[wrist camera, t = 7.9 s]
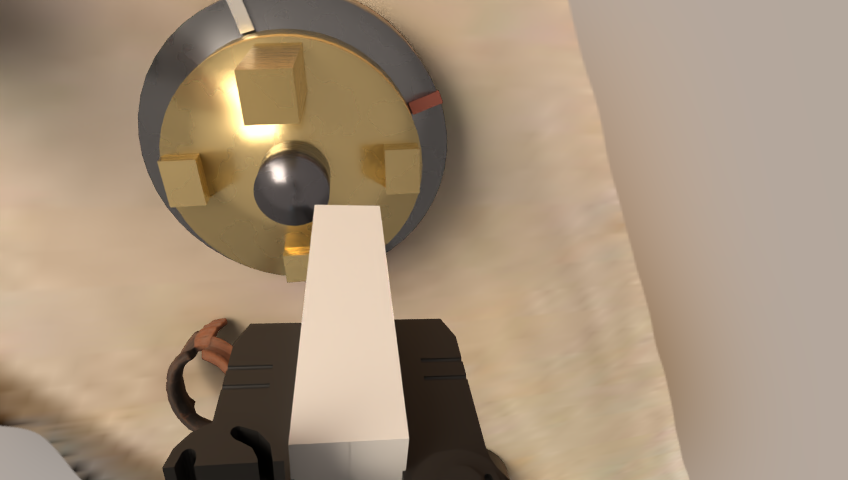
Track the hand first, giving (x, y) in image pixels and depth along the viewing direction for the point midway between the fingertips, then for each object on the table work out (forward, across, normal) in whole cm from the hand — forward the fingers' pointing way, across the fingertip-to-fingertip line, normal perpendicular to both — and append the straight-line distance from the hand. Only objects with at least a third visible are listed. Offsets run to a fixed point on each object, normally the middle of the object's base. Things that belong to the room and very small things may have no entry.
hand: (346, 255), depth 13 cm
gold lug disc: (+21, +3, +6) cm, 22 cm away
